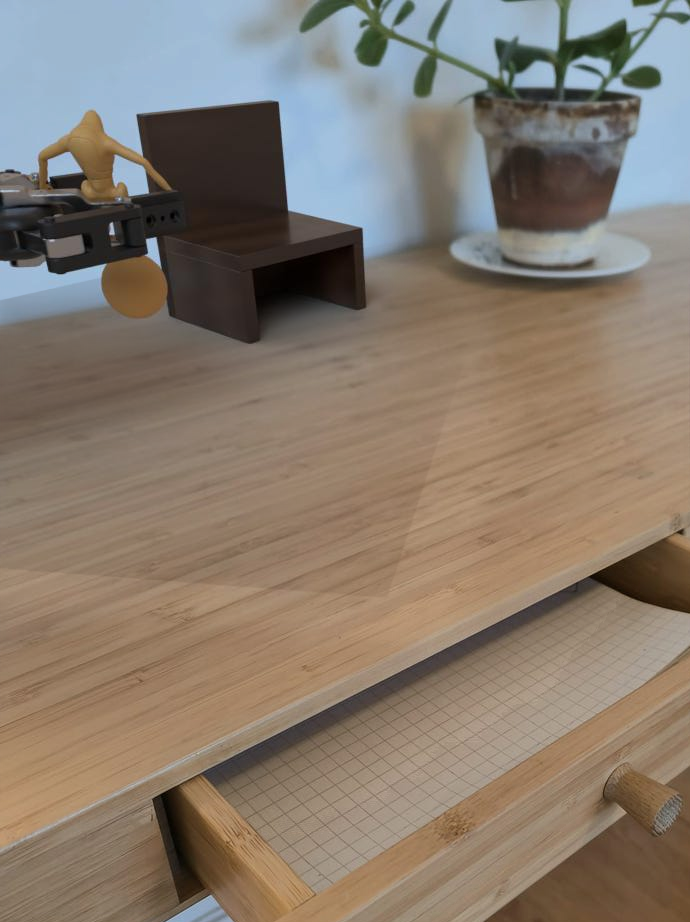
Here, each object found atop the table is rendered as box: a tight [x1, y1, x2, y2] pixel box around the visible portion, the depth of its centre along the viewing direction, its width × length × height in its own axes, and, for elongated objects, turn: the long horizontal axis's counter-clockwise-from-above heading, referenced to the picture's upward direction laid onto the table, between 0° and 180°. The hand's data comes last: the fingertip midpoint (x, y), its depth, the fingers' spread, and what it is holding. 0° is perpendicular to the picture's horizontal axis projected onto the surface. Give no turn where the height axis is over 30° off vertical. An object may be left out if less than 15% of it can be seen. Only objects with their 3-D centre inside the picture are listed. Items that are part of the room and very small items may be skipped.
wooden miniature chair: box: [135, 99, 367, 344], centre depth 83 cm, size 11×14×16 cm
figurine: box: [37, 109, 172, 320], centre depth 57 cm, size 8×6×12 cm
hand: (145, 199), depth 58 cm, fingers closed on figurine, 7 cm apart
